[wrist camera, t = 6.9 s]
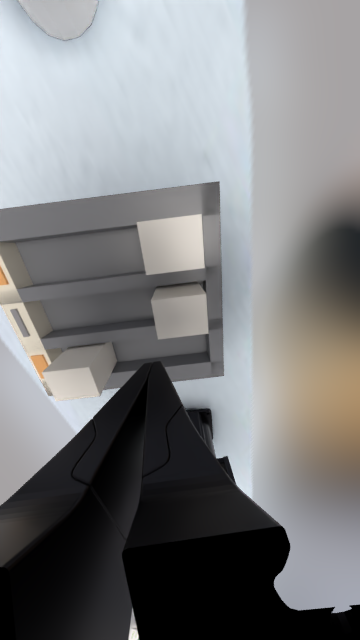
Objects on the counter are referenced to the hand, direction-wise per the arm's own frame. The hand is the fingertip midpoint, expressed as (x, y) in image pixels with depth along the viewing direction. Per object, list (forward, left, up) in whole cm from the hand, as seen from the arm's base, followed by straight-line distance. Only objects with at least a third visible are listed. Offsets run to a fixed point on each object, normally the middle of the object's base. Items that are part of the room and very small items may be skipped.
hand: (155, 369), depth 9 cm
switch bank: (0, +4, -12) cm, 13 cm away
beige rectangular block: (0, -1, -11) cm, 11 cm away
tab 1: (-5, +9, -11) cm, 14 cm away
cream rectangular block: (+5, -2, -11) cm, 12 cm away
